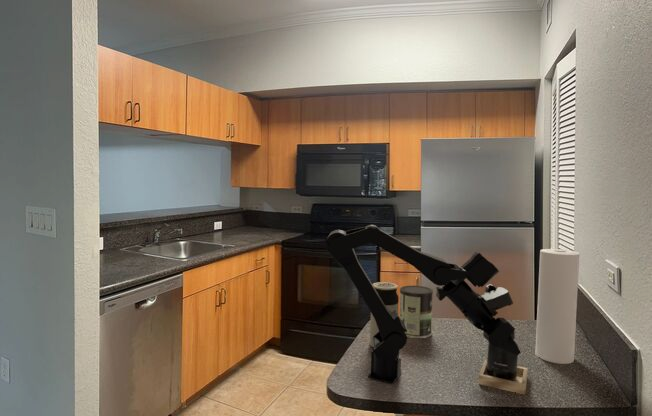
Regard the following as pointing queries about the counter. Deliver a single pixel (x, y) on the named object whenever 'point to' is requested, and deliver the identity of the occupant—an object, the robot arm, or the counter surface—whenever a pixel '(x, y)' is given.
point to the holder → (504, 384)
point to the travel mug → (389, 299)
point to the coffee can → (416, 310)
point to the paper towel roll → (557, 305)
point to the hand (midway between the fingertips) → (510, 345)
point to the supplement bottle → (502, 363)
